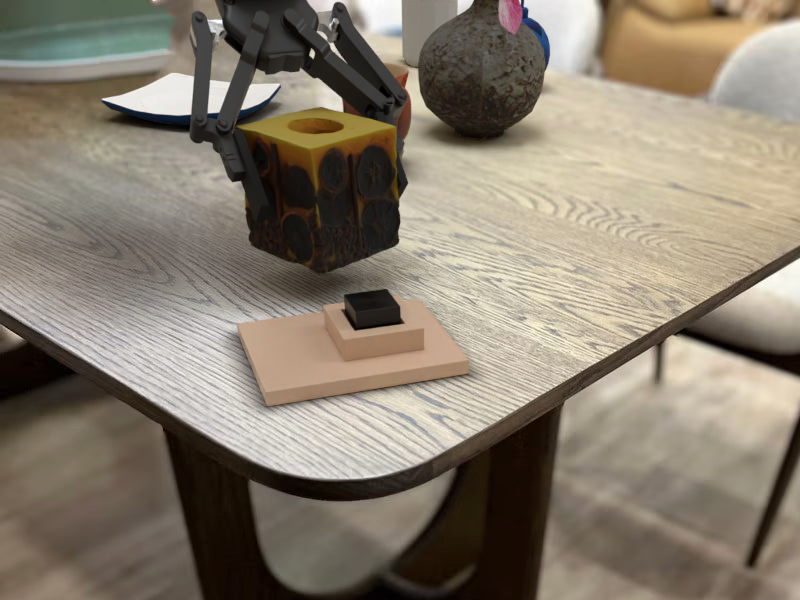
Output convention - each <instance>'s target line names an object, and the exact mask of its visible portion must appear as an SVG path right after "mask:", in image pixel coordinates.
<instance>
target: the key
mask: <svg viewBox="0 0 800 600" xmlns="http://www.w3.org/2000/svg"><path fill="white" fill-rule="evenodd" d="M393 296H394V295H392V293H391V292H390V290H389V289H388V288H381V289H373V290H366V291H359V292H358V291H357V292H351V293H344V294H343V303H344V305H345V315H346V317H347V318H348V320H349V321H350V323H351V325H352V326H353V328H354V329H355V331H357V330H364V329H371V328H378V327H385V326H392V325H399V324H401V312H400V305H399V304H398V303H397V302H396V300H395V299H394V298H393Z"/></svg>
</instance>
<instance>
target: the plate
mask: <svg viewBox="0 0 800 600" xmlns="http://www.w3.org/2000/svg"><path fill="white" fill-rule="evenodd" d="M230 83H231V81H230V82H229V81H223V80H214V79H210V89H209V101H208V114H207V117H208V118H213V119H217V117H218V115H219V112H220V109H221V107H222V104H223V101H224V99H225V96H226V93H227V91H228V88H229V85H230ZM193 84H194V75H193V76H192V75H188V74H183V73H179V72H170V73H169V74H167V75H165V76H163V77H160V78H159V79H157V80H155V81H153V82H151V83H149V84H147V85H144V86H142V87H140V88H136V89H134V90H132V91H129V92H126V93H123V94H119V95H113V96H110V97H109V96H108V97H103V98H101V102H102V104H103V105H105V106H106V107H107V108H109V110H112V111H116V112H120V113H123V114H125V115H129V116H132V117H135V118H139V119H142V120H145V121H148V122H153V123H158V124H159V123H160V124H165V125H176V126H190V121H191V109H192V96H193ZM281 88H282V84H281V83H251V85H250V86H249V89H248V91H247V94H246V97H245V100H244V102H243V105H242V108H241V110H240V113H239V116H238V118H237V121H238V120H241V119H244V118H246V117H249V116H250V115H251V114H253V113H254V112H256V111H258V110H259V109H262V108H263V107H265V106H267V105H269V104H270V102H272V100H273V99H274V98H275V96H276V95H277V94H278V93H279V91H280V90H281Z"/></svg>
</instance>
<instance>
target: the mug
mask: <svg viewBox="0 0 800 600" xmlns="http://www.w3.org/2000/svg"><path fill="white" fill-rule="evenodd" d="M383 63H384V65H385V66H386V67H387V69H388V70H389V71H390V72H391V74H392V75H393V76H394V77H395V79H396V80H397V81H398V82H399V84H400V85H401V86H402V88H403V89H404V90H405V91H406V93H407V94H408V99H407V102H406V104H405V106H404V108H403V110H402V112H401V114H400V116H399V117H398V118H397V119H395V122H396V125H397V128H398V131H399V134H400V136H401V139H402V142H403V150H402V152H401V154H400V156H399V157H400V160H401V163H402V161H403V157H404V153H405V145H406V143H405V140H406V138H407V137H408V135H409V132H410V128H411V123H412V99H411V95H410V93H409V90H408V89H406V85H407V81H408V78H409V74H410V71H409V69H408V68H407V67H405V66H403V65H400V64H396V63H392V62H383ZM341 102H342V112H344V113H348V114H352V115H356V116H360V117H363V116H362V115H361V114H360V113H359V112H358V111H356V110H355V109H354V108H353V107H352V106H351V105H349V104H348V103H347V102H346V101H345V100H343V99H342V98H341ZM364 118H365V117H364Z"/></svg>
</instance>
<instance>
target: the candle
mask: <svg viewBox="0 0 800 600" xmlns="http://www.w3.org/2000/svg"><path fill="white" fill-rule="evenodd" d="M238 129H242V130H243V133H244V135H245V138H246V141H247V144H248V146H249V149H250V152H251V155H252V158H253V160H254V163H255V166H256V169H257V172H258V174H259V177H260V180H261V183H262V186H263V188H264V191H265V194H266V197H267V199H268V202H269V209H268V212H267V215H266V219H265V222H262V223H256V222H255V219H254V216H253V213H252V211H251V208H250V205H249V202H248V200H247V197H246V194H245V193H244V204H245V207H244V210H245V220H246V225H247V227H248V230H249V234H248V242H249V244H250V246H251V247H253V248H254V249H257V250H259V251H261V252H263V253H267V254H268V255H270V256H273V257H275V258H277V259H279V260H282V261H285V262H288V263H291V264H292V263H293V264H296V265H297V264H298V265H300V266H303V267H304V268H306V269H308V270H310V271H312V272H314V273H316V274H317V275H326V274H328V273H332V272H334V271H336V270H339V269H342V268H345V267H348V266H349V265H352V264H354V263H357V262H360V261H361V260H364V259H368V258H371V257H372V256H375V255H377V254H379V253H381V252H385V251H387V250H389V249H392V248H394V247H397V245H399V244H400V237H399V236H400V235H399V231H400V227H401V211H400V199H399V196H398V188H397V166H396V158H397V152H396V141H397V132H396V127H395V126H393V125H390V124H387V123H383V122H379V121H376V120H373V119H369V118H364V117H360V116H356V115H352V114H348V113H344V112H343V111H339V110H335V109H331V108H327V107H324V106H317V107H312V108H308V109H303V110H298V111H293V112H289V113H284V114H280V115H277V116H274V117H270V118H266V119H262V120H257V121H253V122H249V123H244V124H238V125H236V124H235V126H234V130H238Z"/></svg>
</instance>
